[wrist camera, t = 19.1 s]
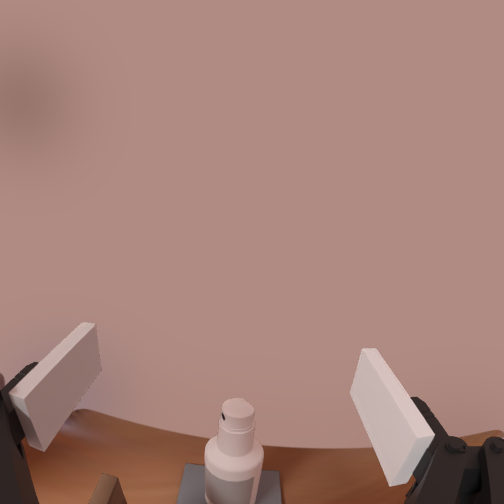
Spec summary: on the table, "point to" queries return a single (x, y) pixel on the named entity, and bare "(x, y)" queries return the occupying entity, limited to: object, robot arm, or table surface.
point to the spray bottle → (233, 457)
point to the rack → (108, 491)
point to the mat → (194, 486)
